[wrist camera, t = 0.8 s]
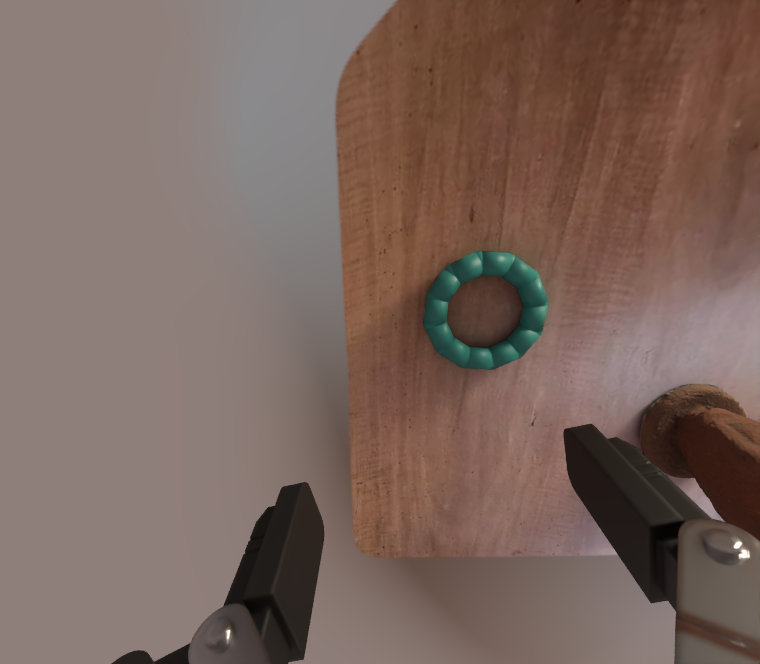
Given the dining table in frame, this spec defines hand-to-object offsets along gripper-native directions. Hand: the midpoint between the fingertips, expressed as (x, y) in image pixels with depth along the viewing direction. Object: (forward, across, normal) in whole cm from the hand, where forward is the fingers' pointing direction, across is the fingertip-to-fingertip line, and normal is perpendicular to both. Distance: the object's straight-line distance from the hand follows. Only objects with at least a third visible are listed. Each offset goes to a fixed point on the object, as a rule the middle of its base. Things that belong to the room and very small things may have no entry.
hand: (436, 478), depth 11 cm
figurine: (+20, -23, +18) cm, 35 cm away
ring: (+19, -6, +2) cm, 20 cm away
